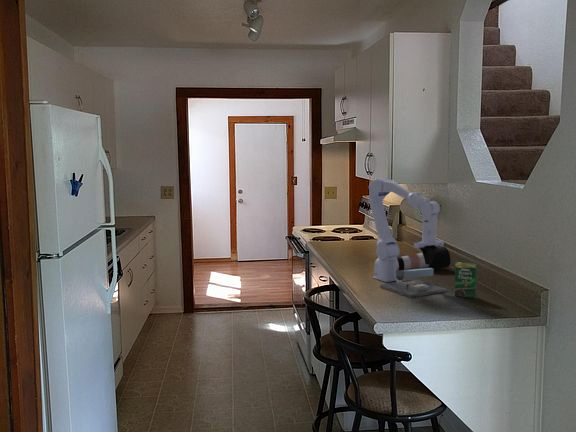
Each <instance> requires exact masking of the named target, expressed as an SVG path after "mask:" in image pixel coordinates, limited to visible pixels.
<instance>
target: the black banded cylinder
mask: <svg viewBox="0 0 576 432" xmlns="http://www.w3.org/2000/svg"><path fill="white" fill-rule="evenodd" d="M451 263H452V262H451V254H450V251H449V249H448V248H447V247H446V246H439V247H438V250H437V251H436V253H435V255H434V257H433V260H432V263H431V264H430V265H428V264H425V259H424V256H423V253H422V252H419V253H414V254H413V253H412V254H407V255H405V256H404V255H403V256H400V257H398V256H397V259H396V271H397V270H412V269H424V268H432V269H434V270H440V269H446V268H449V267H450V265H451Z"/></svg>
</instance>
